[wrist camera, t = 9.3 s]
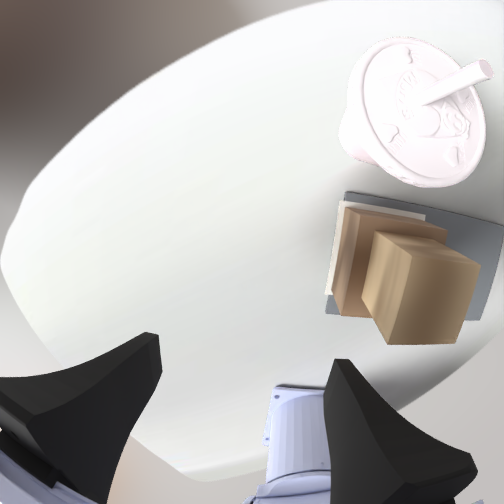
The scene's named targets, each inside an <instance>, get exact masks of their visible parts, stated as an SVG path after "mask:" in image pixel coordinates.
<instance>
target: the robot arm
mask: <svg viewBox="0 0 504 504" xmlns="http://www.w3.org/2000/svg"><path fill="white" fill-rule="evenodd" d="M161 374H162V364H161V355H160V345H159V335H157V334H153V333H148V332H144V333H142V334H140V335H138V336H137V337H135V338H133V339H131V340H129V341H127V342H126V343H124V344H122V345H120V346H118V347H116V348H115V349H113V350H111V351H109V352H107V353H105V354H103V355H100V356H98V357H96V358H94V359H92V360H90V361H87V362H85V363H82V364H80V365H77V366H74V367H71V368H68V369H65V370H61V371H56V372H52V373H48V374H43V375H37V376H28V377H0V428H1V429H2V431H1V432H0V503H1V504H107V500H108V495H109V492H110V488H111V484H112V480H113V477H114V474H115V471H116V467H117V465H118V462H119V459H120V457H121V453H122V451H123V449H124V446H125V444H126V442H127V439H128V437H129V434H130V432H131V430H132V429H133V427H134V425H135V423H136V421H137V420H138V418H139V416H140V415H141V413H142V411H143V410H144V408H145V406H146V405H147V403H148V401H149V400H150V398H151V396H152V394H153V393H154V391H155V389H156V386H157V384H158V382H159V379H160V377H161ZM275 395H279V396H275ZM262 444H263V445H264V446H269V454H268V464H267V474H266V483H265V484H262V485H258V487H257V494H256V495H253V496H249V497H247V498H246V499H245V500H244V502H243V503H242V504H455V500H454V497H455V496H456V495H458V494H459V493H460V492H461V491H462V490H463V489H465V488H466V487H467V486H468V485H469V484H470V483H471V482H472V481H473V480H474V479H475V477H476V475H477V473H478V470H477V468H476V465H475V463H474V461H473V459H472V456H471V455H470V453H467V452H464V451H462V450H459V449H456V448H454V447H451V446H449V445H447V444H445V443H443V442H440V441H438V440H437V439H434V438H433V437H431V436H429V435H428V434H426V433H425V432H423V431H421V430H420V429H418V428H417V427H415V426H414V425H413V424H411V423H410V422H408V421H407V420H406V419H405V418H403V417H402V416H401V415H400V414H399V413H397V412H396V411H395V410H394V409H393V408H392V407H391V406H390V405H389V404H388V403H387V402H386V401H385V400H384V399H383V398H382V397H381V396H380V395H379V394H378V393H377V392H376V391H375V390H374V389H373V387H372V386H371V385H370V384H369V383H368V382H367V380H366V379H365V378H364V377H363V376H362V374H361V373H360V372H359V371H358V370H357V368H356V367H355V366H354V365H353V363H352V362H351V361H350V360H349V359H334V363H333V366H332V369H331V372H330V375H329V378H328V382H327V385H326V388H325V390H312V389H297V388H285V387H275V388H274V389H273V391H272V396H271V401H270V406H269V411H268V416H267V421H266V426H265V430H264V435H263V440H262ZM473 504H484V502H483V500H479V501H477V502H475V503H473Z"/></svg>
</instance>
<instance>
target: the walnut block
mask: <svg viewBox="0 0 504 504" xmlns="http://www.w3.org/2000/svg"><path fill="white" fill-rule="evenodd" d="M375 231H381V232H388V233H395V234H402V235H408V236H415V237H421V238H428V239H433V240H435V241H437V242H439V243H441V244H443V245H445V243H446V238H447V233H448V230H446V229H443V228H441V227H438V226H436V225H433V224H431V223H428V222H426V221H423V220H420V219H415V218H410V217H404V216H399V215H393V214H387V213H381V212H375V211H369V210H362V209H356V208H349V207H345V210H344V217H343V224H342V231H341V237H340V244H339V250H338V256H337V261H336V267H335V272H334V278H333V283H332V288H331V291H332V293H333V296H334V299H335V301H336V304H337V307H338V309H339V312H340V315H341V316H350V317H364V318H373V317H372V316H371V314H370V312H369V310H368V309H367V307H366V305H365V303H364V302H363V300H362V298H361V297H362V293H363V288H364V284H365V279H366V275H367V270H368V265H369V260H370V255H371V249H372V244H373V238H374V232H375Z"/></svg>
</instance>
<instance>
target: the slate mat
mask: <svg viewBox="0 0 504 504" xmlns="http://www.w3.org/2000/svg"><path fill="white" fill-rule="evenodd" d="M345 207H349V208H356V209H362V210H369V211H375V212H381V213H387V214H393V215H399V216H404V217H410V218H415V219H420V220H423V221H426V222H428V223H431V224H433V225H436V226H438V227H441V228H443V229H446V230H448V233H447V238H446V243H445V246H447V247H449V248H451V249H453V250H455V251H456V252H458V253H460V254H462V255H464V256H466V257H467V258H469V259H471V260H473V261H475V262H476V263H478V264H480V265H481V268H480V271H479V275H478V279H477V282H476V286H475V289H474V292H473V296H472V299H471V302H470V305H469V308H468V311H467V313H466V316H465V319H464V320H480V318H481V316H482V313H483V310H484V307H485V304H486V302H487V299H488V295H489V292H490V289H491V286H492V283H493V279H494V276H495V272H496V268H497V264H498V260H499V256H500V252H501V247H502V243H503V238H504V226H501V225H498V224H494V223H491V222H487V221H483V220H480V219H476V218H472V217H468V216H464V215H460V214H456V213H452V212H448V211H443V210H439V209H435V208H430V207H426V206H421V205H416V204H411V203H406V202H401V201H396V200H391V199H385V198H380V197H374V196H368V195H362V194H356V193H350V192H345V198H344V201H343V200H340V202H339V209H338V217H337V224H336V231H335V238H334V244H333V250H332V256H331V262H330V268H329V274H328V279H327V284H326V290H325V294H327V295H329V296H328V301H327V306H326V310H325V312H326V314H336V315H340V312H339V309H338V307H337V304H336V301H335V299H334V296H333V293H332V291H331V288H332V283H333V278H334V272H335V267H336V261H337V256H338V250H339V244H340V237H341V231H342V224H343V217H344V210H345Z"/></svg>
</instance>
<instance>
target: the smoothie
mask: <svg viewBox="0 0 504 504" xmlns="http://www.w3.org/2000/svg"><path fill="white" fill-rule="evenodd" d="M493 76H494V72H493V69H492V67H491V65H490V64H489V63H488V62H487V61H486V60H485V59H482V58H481V59H479V60H477V61H475V62H473V63H471V64H469V65H467V66H465V67H463V68H461V67H460V65H459V64H458V63H457V62H456V61H455V60H453V59H452V58H451V57H450V56H449V55H448V54H446V53H445V52H444V51H442V50H441V49H439V48H437V47H436V46H434V45H432V44H430V43H428V42H425V41H422V40H419V39H415V38H411V37H392V38H387V39H384V40H382V41H380V42H378V43H376V44H374V45H373V46H371V47H370V48H369V49H368V50H367V51H366V52H365V54H364V55H363V56H362V57H361V58H360V59H359V60H358V61H357V63H356V64H355V66H354V69H353V71H352V73H351V76H350V78H349V85H348V95H347V100H348V105H347V108H346V111H345V113H344V116H343V119H342V121H341V124H340V127H339V139H340V142H341V145H342V147H343V148H344V150H345V151H346V152H347V153H348V154H349V155H350V156H351V157H353V158H354V159H357V160H359V161H363V162H366V163H369V164H373V165H376V166H379V167H382V168H383V169H384V170H385V171H386V172H388V173H389V174H391V175H393V176H394V177H396V178H398V179H399V180H401V181H402V182H404V183H408V184H411V185H414V186H418V187H447V186H452V185H455V184H457V183H459V182H461V181H463V180H464V179H466V178H467V177H468V176H469V175H470V174H471V173H472V172H473V171H474V169H475V168H476V166H477V165H478V163H479V161H480V159H481V157H482V154H483V151H484V146H485V140H486V122H485V115H484V111H483V107H482V103H481V100H480V98H479V95H478V93H477V91H476V89H475V87H474V85H476V84H478V83H481V82H483V81H486V80H489V79H491V78H493Z"/></svg>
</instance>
